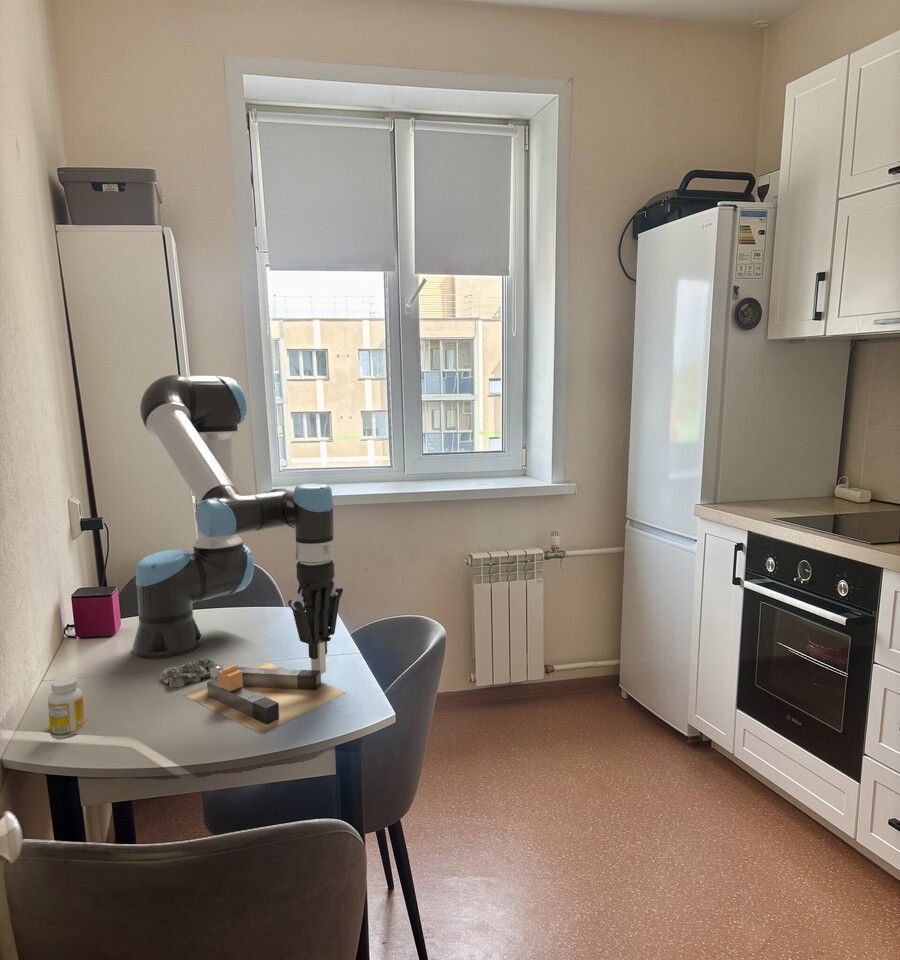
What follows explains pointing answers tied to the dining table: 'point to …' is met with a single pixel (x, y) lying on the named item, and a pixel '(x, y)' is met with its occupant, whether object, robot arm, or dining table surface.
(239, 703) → the tongs fixed
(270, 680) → the bar
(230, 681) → the tab
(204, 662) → the grey lumpy stone piece
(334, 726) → the dining table surface
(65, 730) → the supplement bottle
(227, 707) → the board
